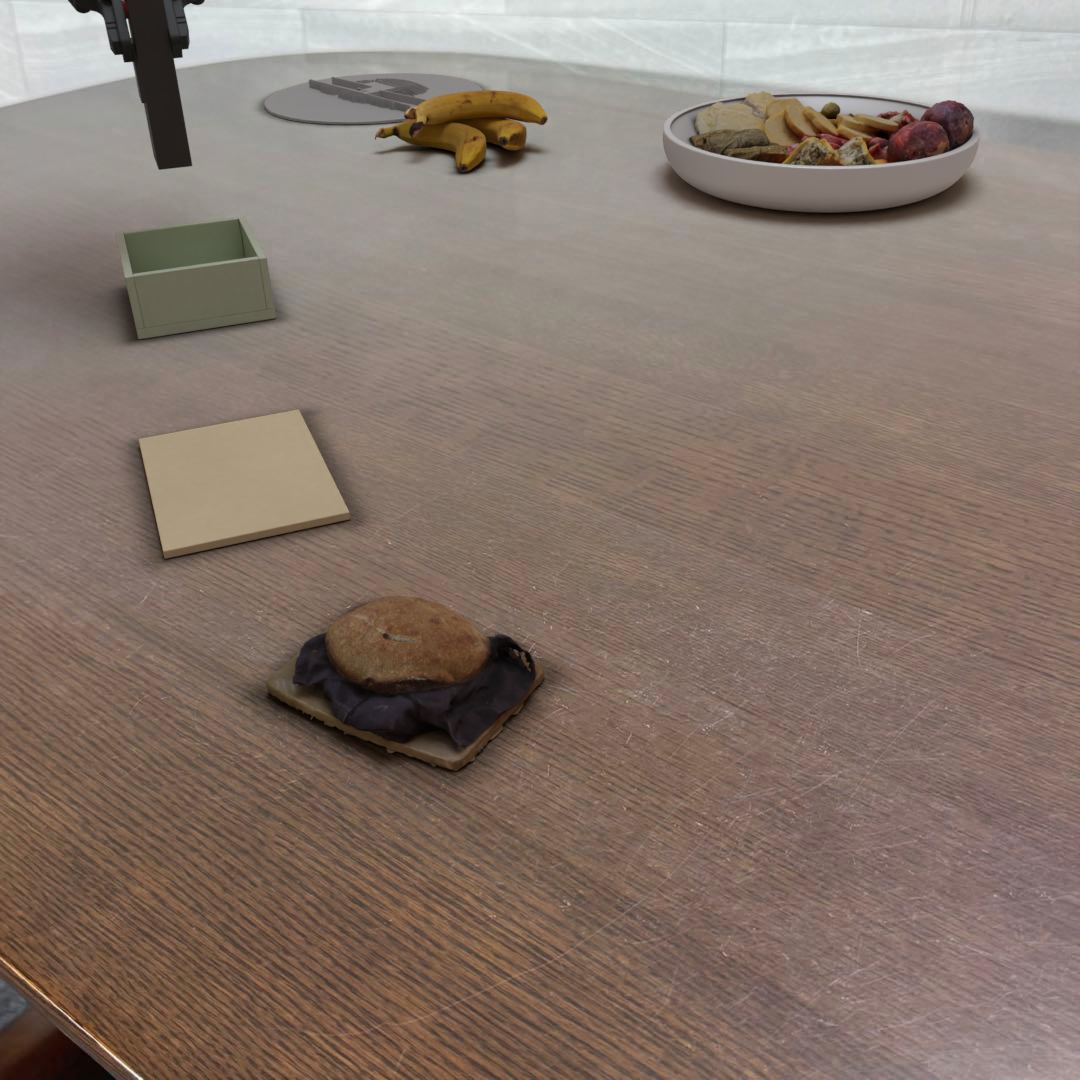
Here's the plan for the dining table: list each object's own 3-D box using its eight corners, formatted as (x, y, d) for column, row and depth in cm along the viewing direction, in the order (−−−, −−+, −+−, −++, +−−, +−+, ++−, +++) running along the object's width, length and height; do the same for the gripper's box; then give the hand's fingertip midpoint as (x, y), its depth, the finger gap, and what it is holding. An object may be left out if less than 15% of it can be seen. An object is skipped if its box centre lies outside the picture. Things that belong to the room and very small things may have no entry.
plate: (225, 99, 157) (224, 90, 157) (402, 67, 172) (401, 57, 171) (339, 137, 139) (338, 126, 138) (526, 96, 154) (526, 86, 153)
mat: (350, 519, 66) (349, 511, 66) (164, 559, 63) (162, 551, 63) (299, 416, 77) (298, 408, 77) (139, 445, 74) (138, 438, 74)
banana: (384, 138, 138) (379, 86, 135) (550, 135, 137) (548, 82, 134) (363, 175, 125) (357, 118, 122) (546, 171, 124) (545, 114, 121)
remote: (155, 170, 87) (120, -11, 80) (150, 157, 90) (116, -18, 84) (192, 166, 88) (161, -14, 81) (186, 153, 91) (156, -21, 84)
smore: (254, 702, 53) (240, 636, 51) (372, 605, 59) (364, 542, 57) (451, 785, 48) (443, 715, 46) (558, 670, 54) (555, 603, 52)
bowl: (630, 212, 111) (631, 125, 107) (693, 133, 135) (696, 59, 131) (970, 234, 103) (986, 141, 99) (972, 146, 127) (985, 68, 123)
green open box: (138, 339, 89) (124, 277, 86) (128, 290, 98) (115, 232, 95) (276, 318, 92) (266, 257, 89) (254, 272, 101) (244, 215, 98)
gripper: (-10, -197, 81) (37, 26, 77) (202, -203, 85) (255, 9, 81) (11, -112, 88) (55, 95, 85) (206, -122, 92) (254, 77, 88)
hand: (153, 52), depth 83 cm, fingers closed on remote, 2 cm apart
